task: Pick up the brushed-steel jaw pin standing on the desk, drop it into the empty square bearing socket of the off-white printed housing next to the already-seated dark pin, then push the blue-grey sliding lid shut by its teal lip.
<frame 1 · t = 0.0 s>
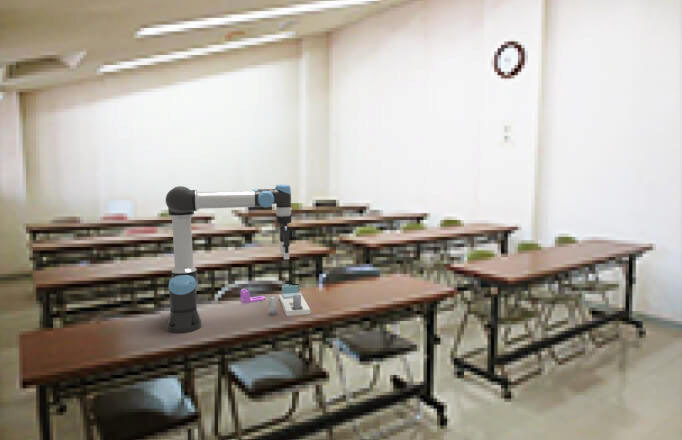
hand: (284, 256, 240), 28 cm above the table, fingers open, 13 cm apart
bracket: (253, 301, 260), on the table
lid: (291, 291, 258), point 5 cm above the table, slide at 7.0 cm
housing: (295, 308, 245), on the table
jaw pin: (273, 314, 237), on the table
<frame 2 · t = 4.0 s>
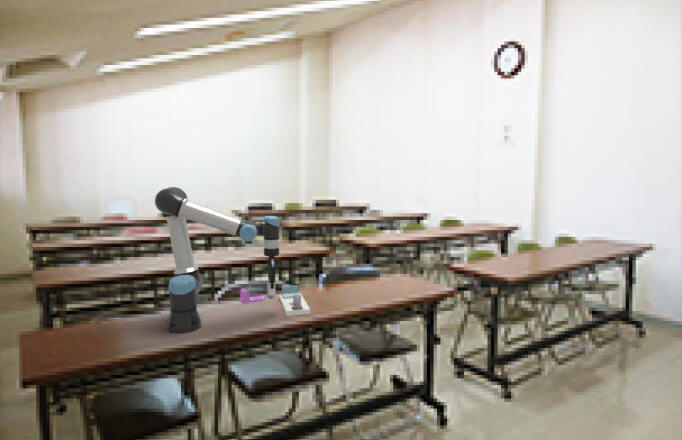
hand: (271, 293, 235), 11 cm above the table, fingers closed on jaw pin, 4 cm apart
jaw pin: (271, 297, 236), point 9 cm above the table, touching gripper
everything else where it was.
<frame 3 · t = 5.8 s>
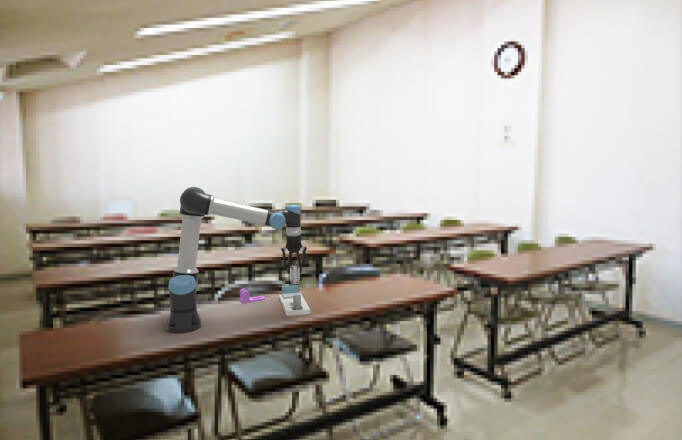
hand: (294, 279, 243), 15 cm above the table, fingers closed on jaw pin, 3 cm apart
jaw pin: (294, 283, 244), point 13 cm above the table, touching gripper
everything else where it was.
when the fingers open (4 cm above the table, at t = 8.0 s): jaw pin drops 2 cm, resting in housing.
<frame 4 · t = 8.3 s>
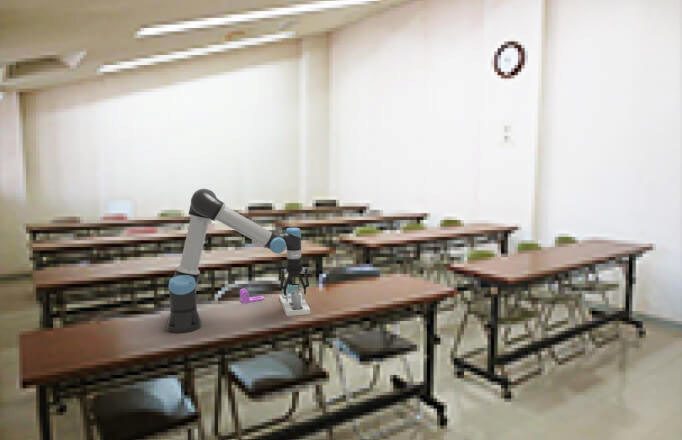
hand: (294, 300, 245), 4 cm above the table, fingers open, 8 cm apart
jaw pin: (295, 308, 246), resting in housing
everything else where it was.
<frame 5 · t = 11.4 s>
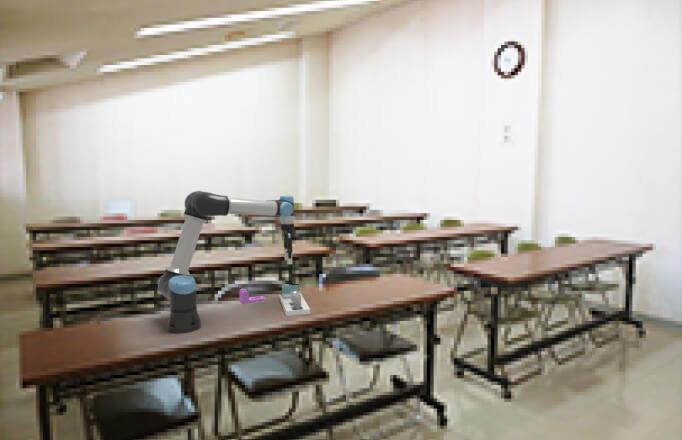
hand: (288, 262, 265), 20 cm above the table, fingers open, 10 cm apart
nothing on the table moved.
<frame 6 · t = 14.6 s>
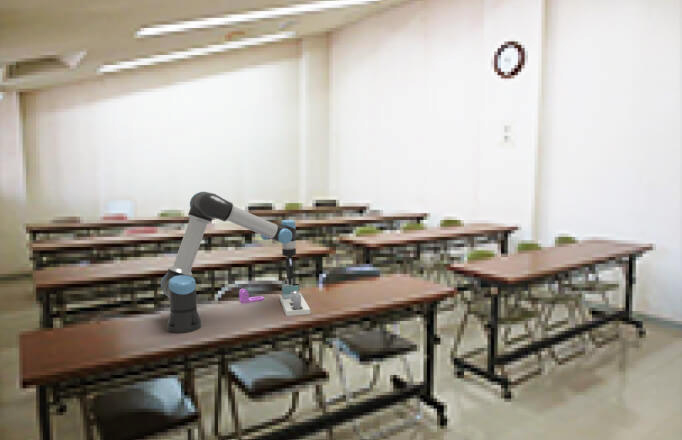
hand: (289, 289, 262), 5 cm above the table, fingers closed
lid: (291, 291, 258), point 5 cm above the table, slide at 6.6 cm, touching gripper
everything else where it was.
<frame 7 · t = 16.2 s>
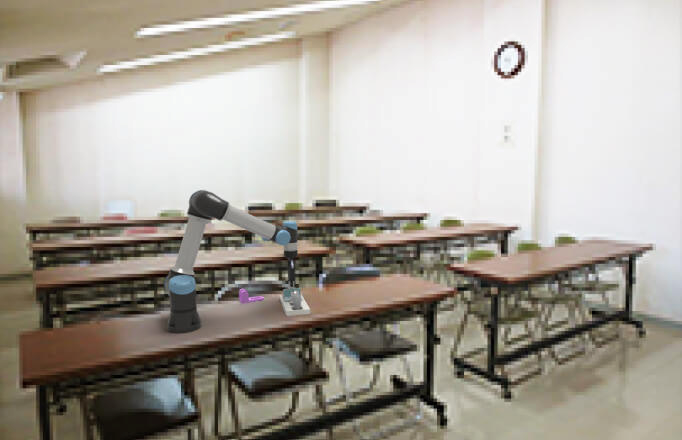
hand: (291, 292, 256), 5 cm above the table, fingers closed
lid: (292, 294, 252), point 5 cm above the table, slide at 0.7 cm, touching gripper
everything else where it was.
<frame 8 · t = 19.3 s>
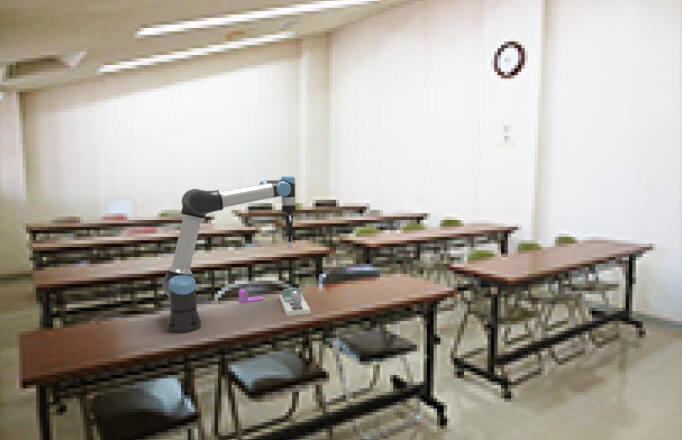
hand: (289, 247, 257), 29 cm above the table, fingers closed
lid: (292, 294, 252), point 5 cm above the table, slide at 0.7 cm
everything else where it was.
at the end: jaw pin 0.2 cm off-centre on the housing, point 0.0 cm above the housing's base; jaw pin tilted 0°; lid slide at 0.7 cm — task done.
